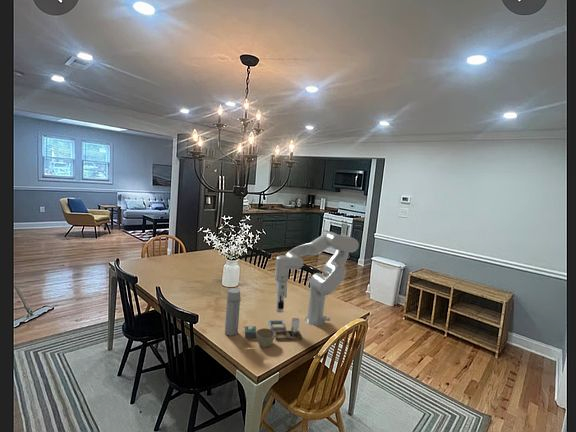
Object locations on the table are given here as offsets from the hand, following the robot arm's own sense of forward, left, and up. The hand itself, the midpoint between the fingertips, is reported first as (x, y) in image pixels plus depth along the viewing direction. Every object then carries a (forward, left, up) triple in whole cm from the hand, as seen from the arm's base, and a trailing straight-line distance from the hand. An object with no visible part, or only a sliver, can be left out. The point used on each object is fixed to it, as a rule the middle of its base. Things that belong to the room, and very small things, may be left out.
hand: (280, 306), depth 180 cm
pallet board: (-3, +12, -13) cm, 18 cm away
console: (+17, +9, -13) cm, 23 cm away
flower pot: (+10, +18, -13) cm, 25 cm away
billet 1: (0, 0, -3) cm, 3 cm away
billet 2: (-7, +12, -12) cm, 18 cm away
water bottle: (+27, +6, -13) cm, 31 cm away
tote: (+1, 0, -13) cm, 13 cm away
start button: (+17, +9, -11) cm, 22 cm away
